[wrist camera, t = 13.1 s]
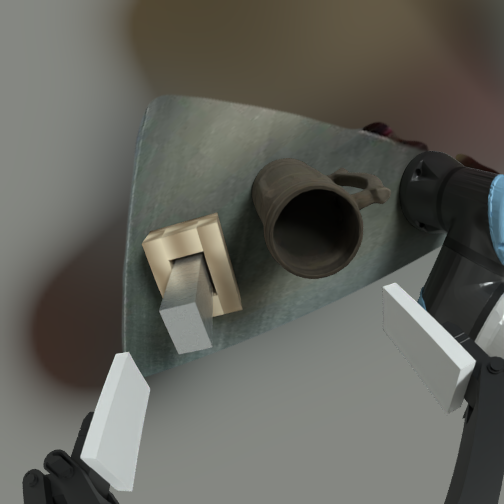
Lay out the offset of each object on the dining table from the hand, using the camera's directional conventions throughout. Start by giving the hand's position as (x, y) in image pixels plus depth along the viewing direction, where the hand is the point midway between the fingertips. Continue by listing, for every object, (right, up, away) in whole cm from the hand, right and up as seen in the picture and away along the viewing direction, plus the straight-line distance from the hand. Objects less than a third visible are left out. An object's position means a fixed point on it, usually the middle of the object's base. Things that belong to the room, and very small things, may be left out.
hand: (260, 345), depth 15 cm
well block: (-9, +3, +35) cm, 36 cm away
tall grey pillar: (-9, +2, +34) cm, 36 cm away
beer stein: (+6, +15, +33) cm, 36 cm away
